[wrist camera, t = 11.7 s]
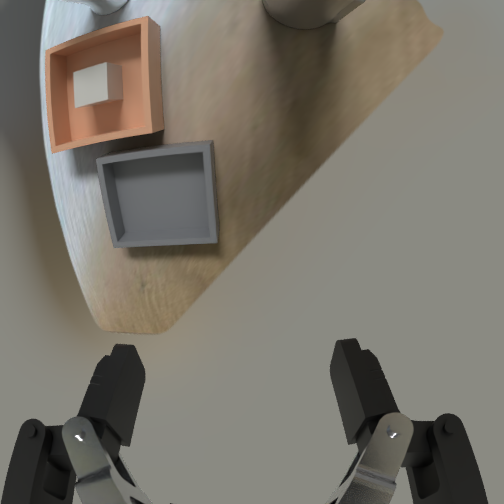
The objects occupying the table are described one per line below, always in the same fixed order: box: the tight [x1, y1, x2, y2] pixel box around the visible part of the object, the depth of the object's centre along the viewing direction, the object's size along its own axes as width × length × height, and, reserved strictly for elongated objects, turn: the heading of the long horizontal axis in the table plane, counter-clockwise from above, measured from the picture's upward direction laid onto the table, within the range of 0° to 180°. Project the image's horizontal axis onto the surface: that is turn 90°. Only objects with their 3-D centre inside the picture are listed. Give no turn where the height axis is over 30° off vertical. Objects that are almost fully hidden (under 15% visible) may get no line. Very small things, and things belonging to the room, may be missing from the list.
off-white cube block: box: [73, 62, 123, 108], centre depth 26 cm, size 4×4×4 cm
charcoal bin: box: [96, 140, 219, 248], centre depth 34 cm, size 14×12×4 cm
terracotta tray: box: [45, 16, 164, 153], centre depth 26 cm, size 14×14×5 cm
